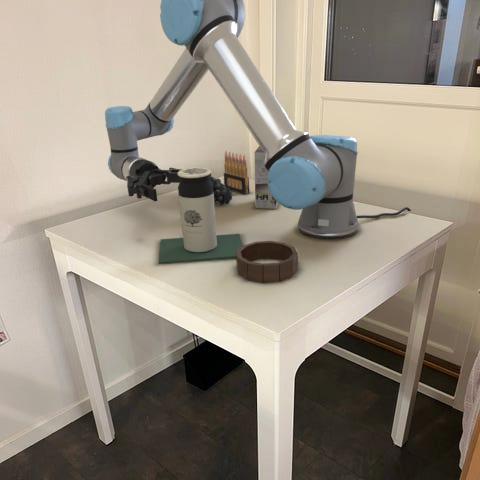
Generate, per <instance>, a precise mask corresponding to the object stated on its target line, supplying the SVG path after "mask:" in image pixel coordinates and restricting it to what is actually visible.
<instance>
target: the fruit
mask: <svg viewBox="0 0 480 480" xmlns="http://www.w3.org/2000/svg"><path fill="white" fill-rule="evenodd" d="M210 181H211V183H212V184H213V192H214V203H216V202H218V204H219V205H220V206H223V205H224V204H225V205H229V204H230V203H231V201H232V200H233V195H234V193H233V191H231V190H230V189H229V188H226V187H225V186H224V183H222V180H221V179H220V178H219V177H218V178H214V176H212V172H211V173H210Z"/></svg>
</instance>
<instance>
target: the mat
mask: <svg viewBox="0 0 480 480" xmlns="http://www.w3.org/2000/svg"><path fill="white" fill-rule="evenodd" d="M216 237H217V246H216V247H215V248H214V249H212V250H210V251H207V252H191V251H188V250H186V249H185V248H184V241H183V237H175V238H173V237H172V238H161V239H160V245H159V255H158V265H167V264H168V265H169V264H177V263H178V264H179V263H193V262H207V261H220V260H233V259H236V251H237V250H238V249H239V248H241V247H242V246H243V242H242V238H241V233H231V234H228V233H227V234H216Z"/></svg>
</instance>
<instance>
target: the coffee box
mask: <svg viewBox="0 0 480 480" xmlns="http://www.w3.org/2000/svg"><path fill="white" fill-rule="evenodd" d="M264 161H265V153H264V152H263V150H262V149H261V147H260V146H259V145H258V147H257V149H256V150H255V151H254V201H255V202H254V208H255V209H269V210H270V209H271V210H276V209H277V207H278V205H279V203H278V202H277V201H276V200H275V199H274V198H273V196H272V195H271V193H270V190H269V187H268V182H269V180H268V173H269V172H268V171H267V169H266V168H265V166H264Z"/></svg>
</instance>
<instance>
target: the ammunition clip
mask: <svg viewBox="0 0 480 480" xmlns="http://www.w3.org/2000/svg"><path fill="white" fill-rule="evenodd" d="M223 165H224V167H223V168H224V172H223V184H224V186H225V187H226V188H229V189H230V191H231V192H234V193H235V192H236V193H238V194H242V195H248V194H250V192H251V191H250V179H249V175H248V174H249V173H248V165H247V157H246V155H245V154H244V155H242V154H241V153H240V154H238V153H237V152H236V153H234V152H232V153H231V151H229V152H228V151H227V150H225V152H224V164H223Z"/></svg>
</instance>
